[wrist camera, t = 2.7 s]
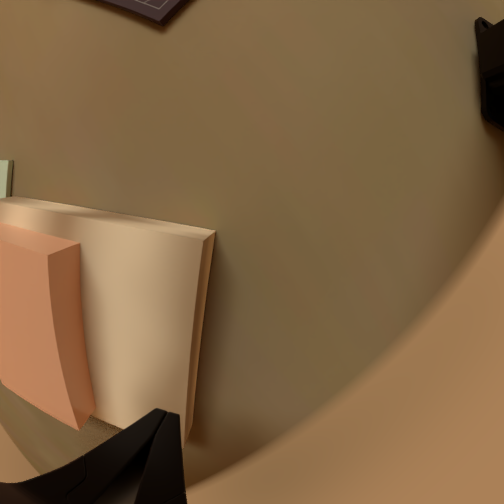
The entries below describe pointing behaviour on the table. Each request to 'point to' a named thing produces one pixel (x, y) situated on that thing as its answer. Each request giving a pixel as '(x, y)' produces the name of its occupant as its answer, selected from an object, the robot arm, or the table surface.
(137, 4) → the chocolate bar
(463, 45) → the table surface
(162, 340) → the beige square slab
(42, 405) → the salmon orange rectangular block
